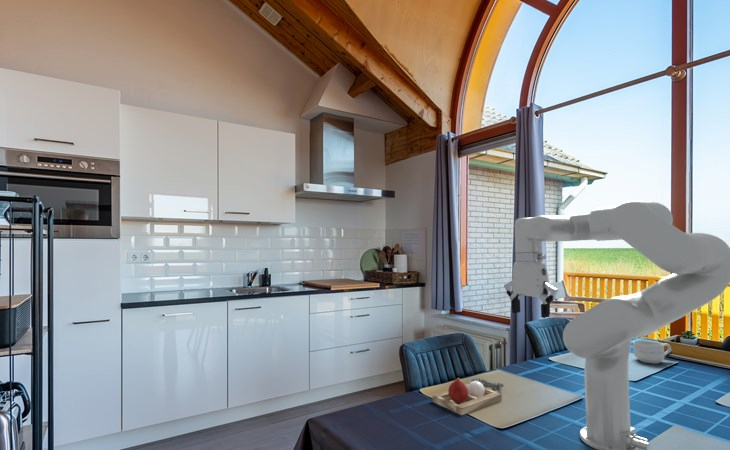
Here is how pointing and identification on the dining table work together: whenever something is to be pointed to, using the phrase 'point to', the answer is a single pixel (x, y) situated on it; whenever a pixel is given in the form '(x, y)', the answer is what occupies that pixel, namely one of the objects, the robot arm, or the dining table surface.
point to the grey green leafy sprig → (490, 384)
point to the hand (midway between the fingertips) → (530, 314)
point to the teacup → (650, 351)
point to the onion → (458, 391)
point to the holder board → (467, 401)
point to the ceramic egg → (476, 389)
